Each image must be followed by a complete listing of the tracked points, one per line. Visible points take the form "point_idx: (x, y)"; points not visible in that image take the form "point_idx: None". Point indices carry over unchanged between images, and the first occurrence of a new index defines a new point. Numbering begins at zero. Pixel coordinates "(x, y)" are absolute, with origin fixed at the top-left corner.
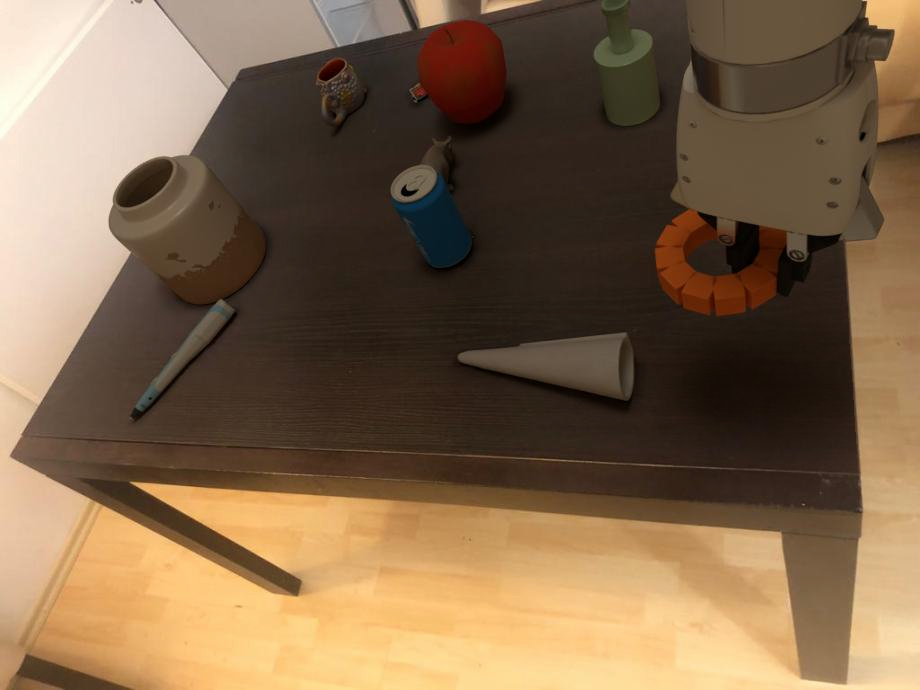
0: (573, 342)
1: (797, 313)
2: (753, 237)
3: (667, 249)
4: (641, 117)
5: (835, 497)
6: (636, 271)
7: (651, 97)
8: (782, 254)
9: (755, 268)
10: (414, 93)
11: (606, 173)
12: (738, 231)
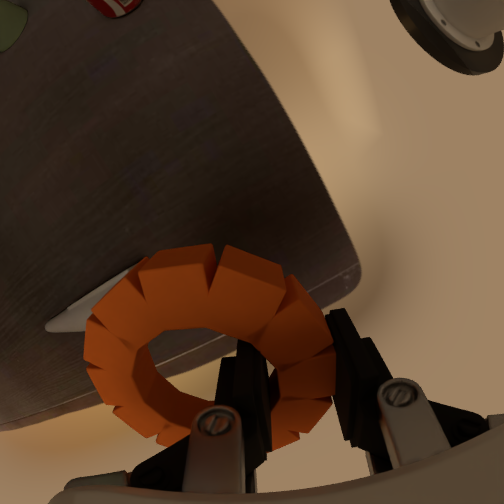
0: (98, 299)
1: (250, 131)
2: (265, 401)
3: (129, 412)
4: (17, 32)
5: (356, 284)
6: (87, 169)
7: (14, 17)
8: (349, 433)
9: (291, 405)
10: None
11: (15, 94)
12: (251, 469)
